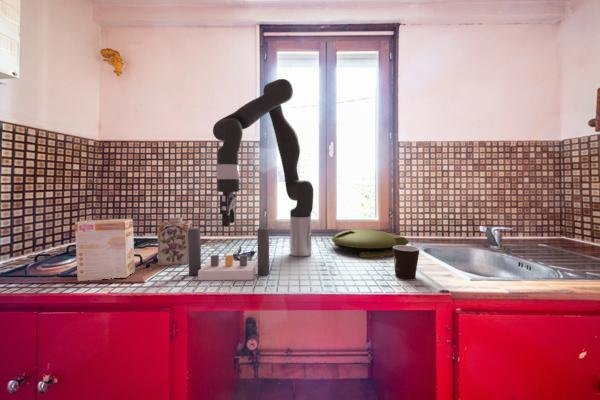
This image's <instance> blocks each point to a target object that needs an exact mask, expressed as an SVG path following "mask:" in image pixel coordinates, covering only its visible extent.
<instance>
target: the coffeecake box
mask: <svg viewBox="0 0 600 400" xmlns="http://www.w3.org/2000/svg"><path fill="white" fill-rule="evenodd" d="M74 232H75V233H74V234H75V253H76V255H75V256H76V273H77V274H76V275H77V282H87V281H88V280H89V281H103V280H102V279H108V280H115V279H114V278H120V277H127V276H129V275H130V274H132V273H133V274H135V273H134V272H135V271H136V269H135V268H136V267H135V249H134V248H135V247H134V246H135V245H134V221H133V218H125V219H124V218H122V219H121V218H120V219H117V218H115V219H114V218H113V219H111V218H110V219H84V220H81V221H75V223H74ZM133 274H132V275H133ZM129 277H130V276H129ZM111 278H112V279H111Z"/></svg>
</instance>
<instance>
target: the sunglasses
mask: <svg viewBox="0 0 600 400" xmlns="http://www.w3.org/2000/svg"><path fill="white" fill-rule="evenodd" d="M242 249H243V246H240V247H239V248H238V249H237V252H235V253H232V255H233V258H237V259H239V260H240V255H247V261H252V259H253V257H254V256H255V254H256V253H257V252H258V249H257V250H251V251H246V252H243V253H241V252H242Z"/></svg>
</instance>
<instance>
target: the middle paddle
mask: <svg viewBox="0 0 600 400" xmlns="http://www.w3.org/2000/svg"><path fill="white" fill-rule="evenodd" d="M224 257H225V258H224V259H225V260H224V261H225V266H233V261H234V257H233V254H225V256H224Z"/></svg>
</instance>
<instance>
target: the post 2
mask: <svg viewBox="0 0 600 400" xmlns="http://www.w3.org/2000/svg"><path fill="white" fill-rule="evenodd" d="M256 232H257V233H256V234H257V275H258V276H261V277H262V276H265V277H266V276H268V275H270V228H268V227H260V228H257V231H256Z"/></svg>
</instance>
